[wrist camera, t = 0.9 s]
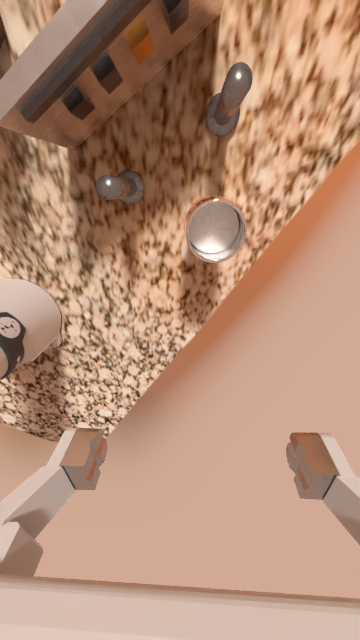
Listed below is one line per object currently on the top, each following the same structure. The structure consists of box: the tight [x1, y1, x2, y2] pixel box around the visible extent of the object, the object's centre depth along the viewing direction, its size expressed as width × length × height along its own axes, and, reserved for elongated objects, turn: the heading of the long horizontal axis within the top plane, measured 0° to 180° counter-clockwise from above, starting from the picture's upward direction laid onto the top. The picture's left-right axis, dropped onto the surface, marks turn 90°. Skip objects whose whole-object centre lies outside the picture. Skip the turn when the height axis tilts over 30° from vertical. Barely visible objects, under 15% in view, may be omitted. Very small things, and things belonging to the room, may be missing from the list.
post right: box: [206, 62, 252, 136], centre depth 26 cm, size 4×4×12 cm
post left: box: [96, 171, 144, 204], centre depth 31 cm, size 4×4×12 cm
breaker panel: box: [0, 0, 223, 150], centre depth 24 cm, size 24×3×16 cm, turn 122°
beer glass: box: [184, 195, 247, 263], centre depth 32 cm, size 7×7×15 cm
